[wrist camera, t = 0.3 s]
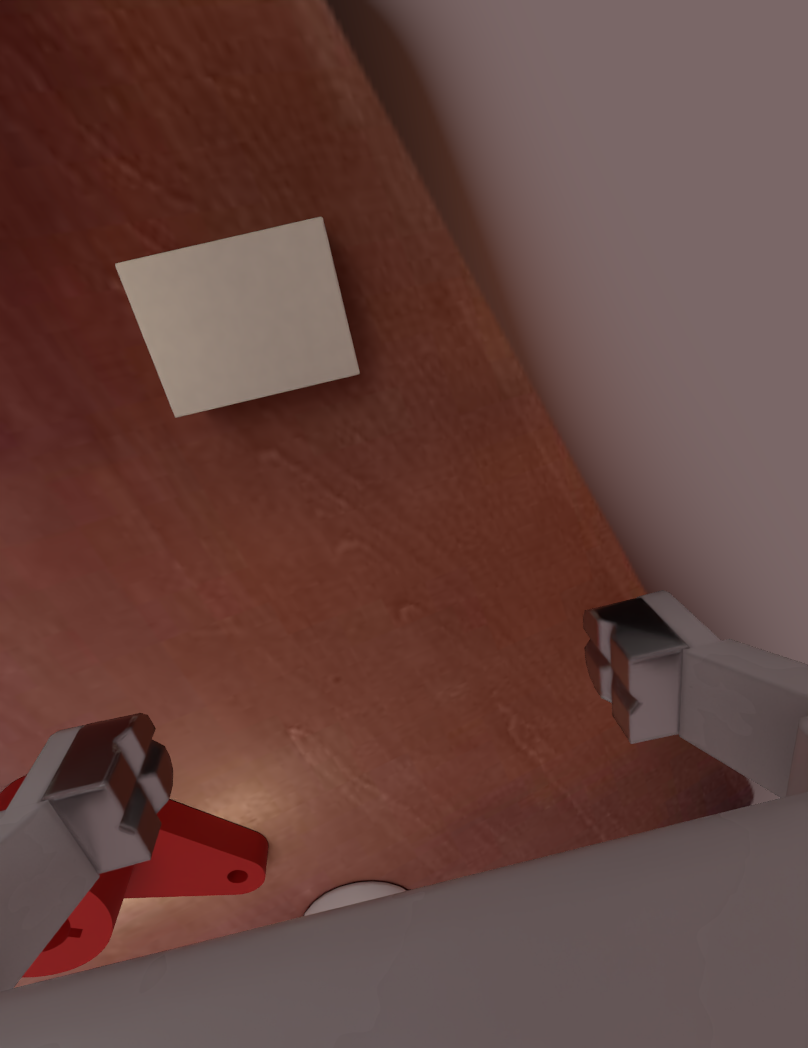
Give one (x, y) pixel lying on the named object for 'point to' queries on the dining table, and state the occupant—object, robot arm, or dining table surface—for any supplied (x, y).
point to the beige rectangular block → (242, 316)
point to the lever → (156, 879)
